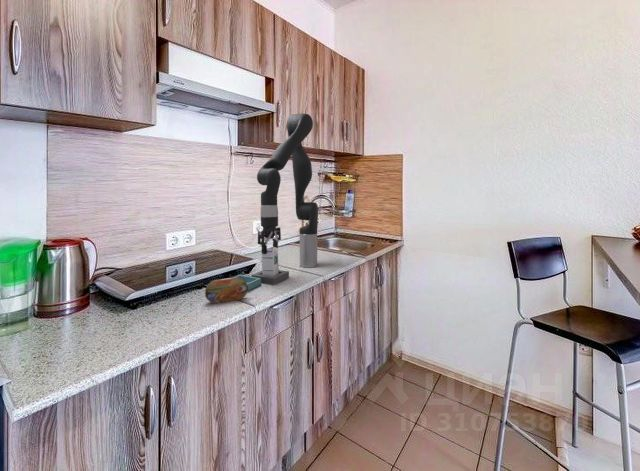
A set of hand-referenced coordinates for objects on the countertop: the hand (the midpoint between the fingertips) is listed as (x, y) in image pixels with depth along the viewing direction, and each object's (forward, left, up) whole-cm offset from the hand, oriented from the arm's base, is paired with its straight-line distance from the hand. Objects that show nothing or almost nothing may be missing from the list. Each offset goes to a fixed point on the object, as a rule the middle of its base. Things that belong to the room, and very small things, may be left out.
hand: (270, 252), depth 137 cm
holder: (0, 0, -13) cm, 13 cm away
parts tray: (+14, -5, -13) cm, 19 cm away
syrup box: (0, 0, -13) cm, 13 cm away
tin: (+28, 0, -13) cm, 31 cm away
